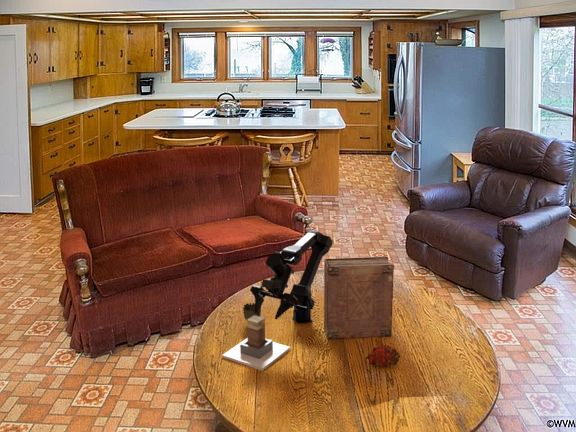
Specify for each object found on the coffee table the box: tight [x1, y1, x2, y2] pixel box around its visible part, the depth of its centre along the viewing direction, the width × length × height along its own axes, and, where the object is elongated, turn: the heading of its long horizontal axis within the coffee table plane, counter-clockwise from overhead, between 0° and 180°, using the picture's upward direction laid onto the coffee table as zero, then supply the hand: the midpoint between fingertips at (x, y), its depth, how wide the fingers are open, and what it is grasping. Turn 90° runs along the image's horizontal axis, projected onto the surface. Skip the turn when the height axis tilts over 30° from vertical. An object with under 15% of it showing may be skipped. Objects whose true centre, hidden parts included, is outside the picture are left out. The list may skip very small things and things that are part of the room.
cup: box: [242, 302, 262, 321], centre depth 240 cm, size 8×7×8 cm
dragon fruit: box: [365, 344, 401, 370], centre depth 207 cm, size 8×8×12 cm
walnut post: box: [246, 315, 266, 348], centre depth 216 cm, size 5×5×13 cm
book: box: [323, 256, 395, 340], centre depth 229 cm, size 25×9×30 cm, turn 95°
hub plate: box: [222, 337, 291, 372], centre depth 217 cm, size 18×18×4 cm
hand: (265, 316), depth 219 cm, fingers open, 9 cm apart
